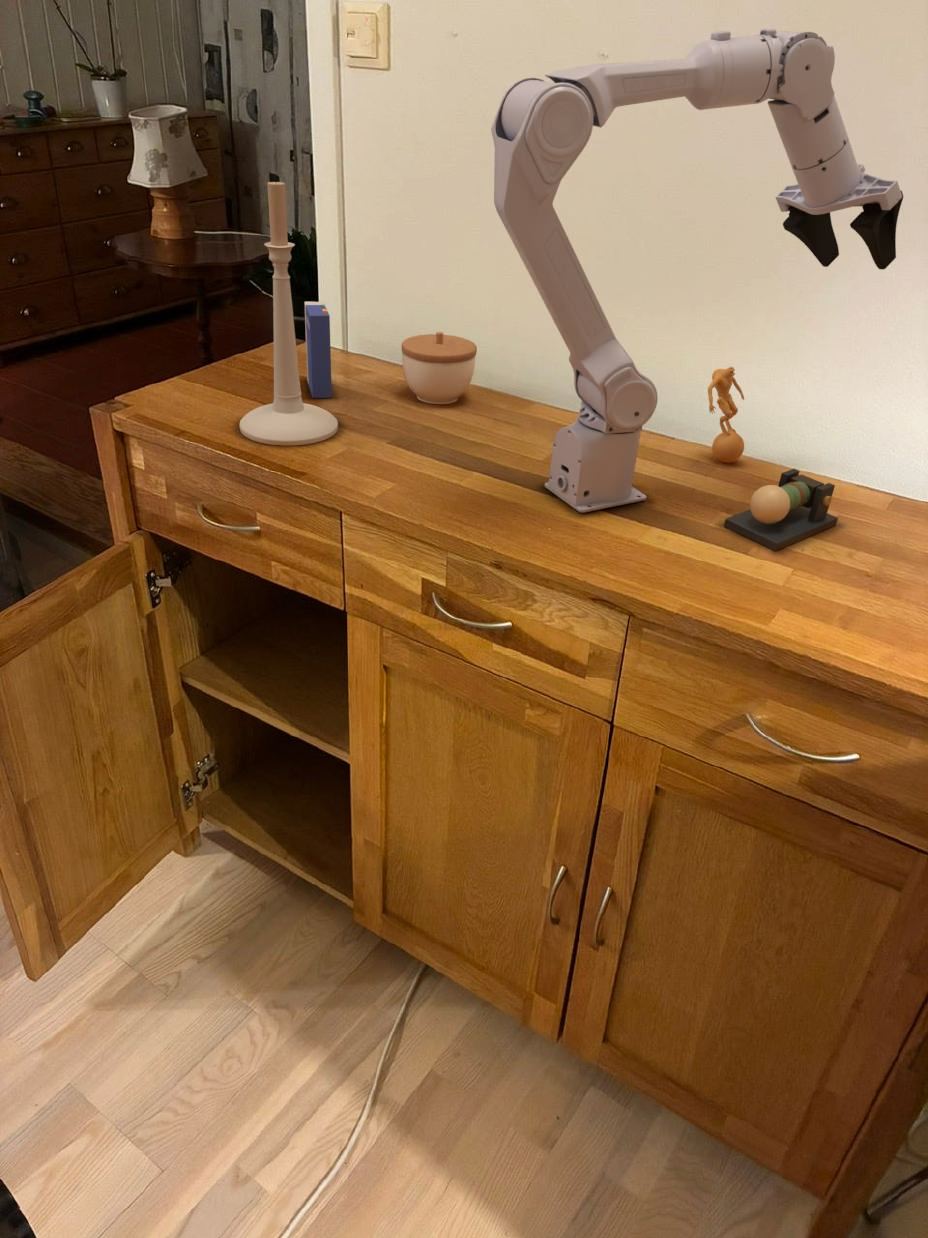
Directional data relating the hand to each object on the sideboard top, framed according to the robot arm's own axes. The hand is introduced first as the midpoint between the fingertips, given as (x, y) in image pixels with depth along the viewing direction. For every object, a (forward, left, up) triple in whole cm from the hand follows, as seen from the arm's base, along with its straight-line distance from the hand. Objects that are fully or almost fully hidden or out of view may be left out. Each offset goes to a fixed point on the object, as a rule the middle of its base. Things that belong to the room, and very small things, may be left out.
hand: (858, 261), depth 101 cm
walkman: (-45, +52, -26) cm, 73 cm away
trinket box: (-30, +43, -26) cm, 58 cm away
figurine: (-6, +9, -26) cm, 28 cm away
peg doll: (-8, -8, -23) cm, 25 cm away
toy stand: (-12, -9, -26) cm, 30 cm away
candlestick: (-54, +39, -26) cm, 71 cm away
